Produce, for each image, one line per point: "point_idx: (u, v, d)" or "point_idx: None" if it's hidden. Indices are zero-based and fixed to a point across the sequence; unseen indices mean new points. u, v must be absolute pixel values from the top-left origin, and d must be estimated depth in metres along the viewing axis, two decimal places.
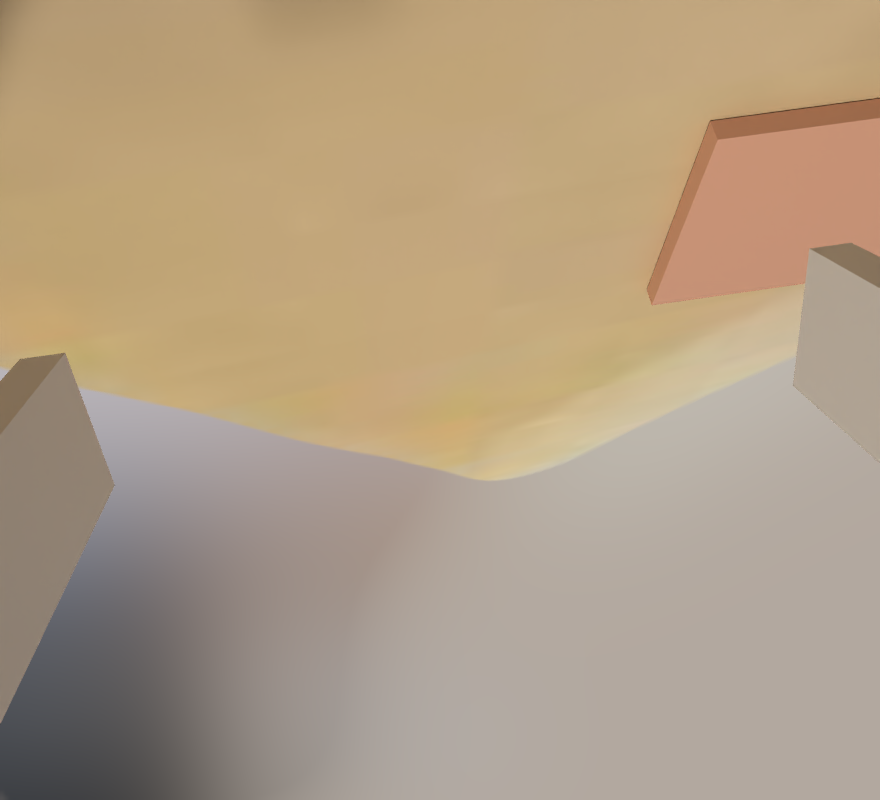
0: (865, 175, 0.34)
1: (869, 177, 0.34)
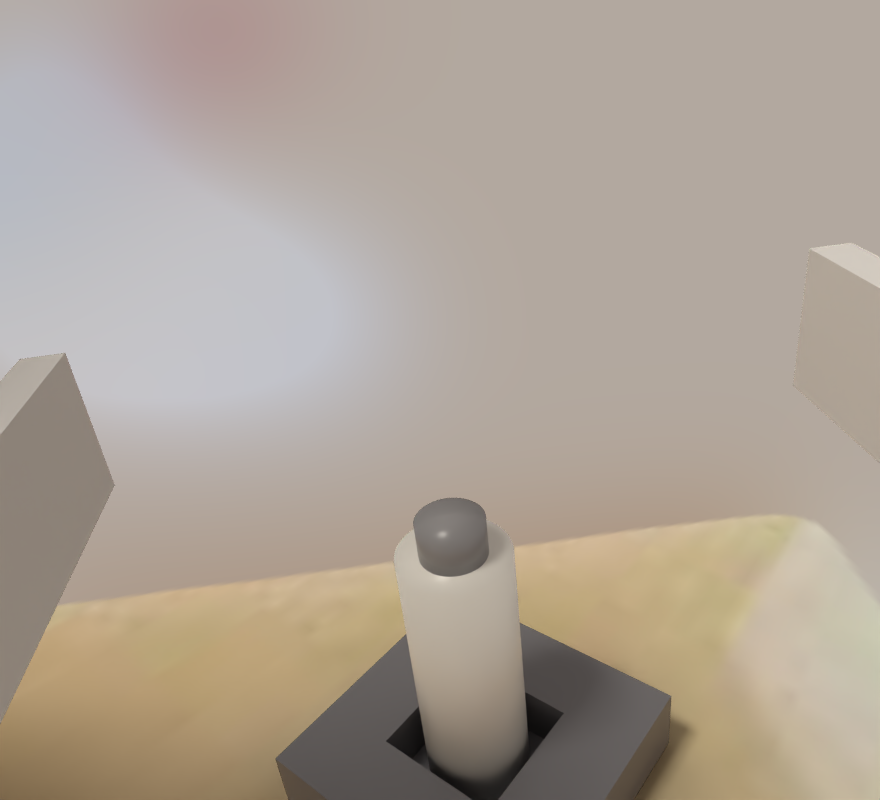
0: None
1: None
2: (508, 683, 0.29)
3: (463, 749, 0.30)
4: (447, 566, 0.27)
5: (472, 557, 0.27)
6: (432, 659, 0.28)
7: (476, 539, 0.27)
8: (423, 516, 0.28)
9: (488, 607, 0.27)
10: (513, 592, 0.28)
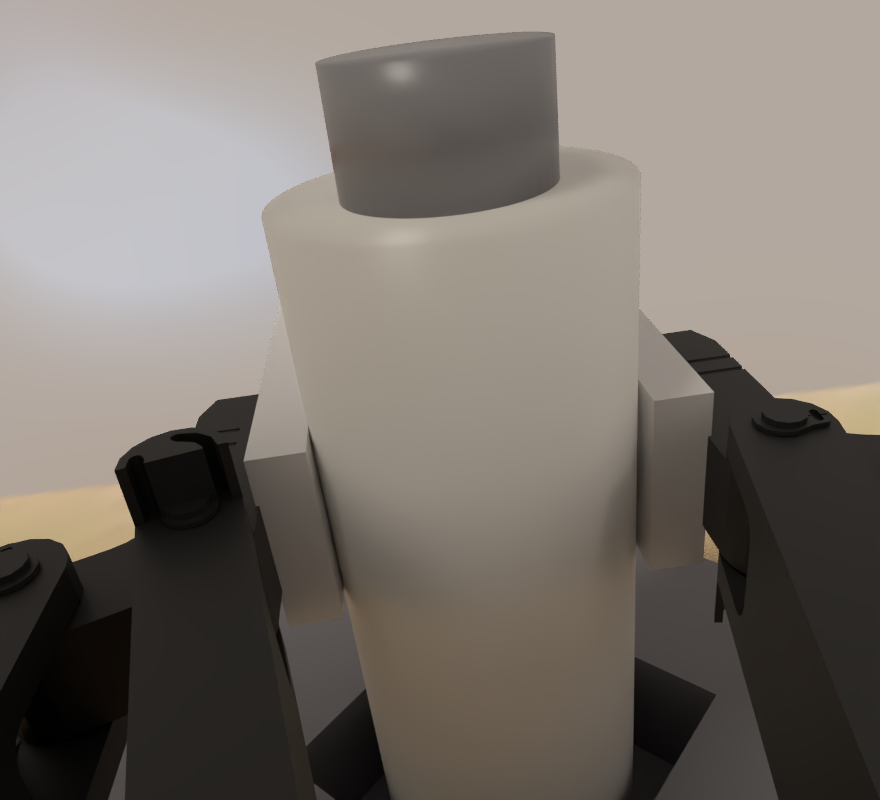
0: None
1: None
2: (608, 601, 0.10)
3: (479, 789, 0.11)
4: (426, 172, 0.08)
5: (512, 145, 0.08)
6: (385, 518, 0.09)
7: (526, 73, 0.08)
8: (351, 55, 0.09)
9: (568, 316, 0.08)
10: (636, 304, 0.09)
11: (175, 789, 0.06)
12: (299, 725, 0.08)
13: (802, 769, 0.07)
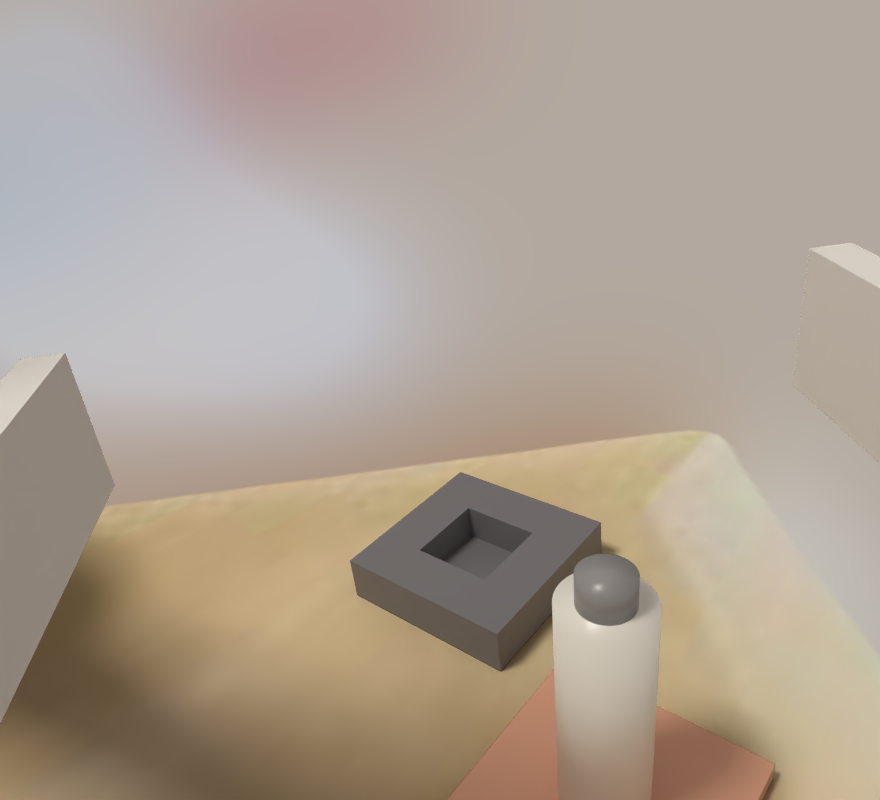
0: None
1: None
2: (649, 719, 0.33)
3: (605, 779, 0.34)
4: (607, 616, 0.31)
5: (629, 608, 0.31)
6: (587, 699, 0.32)
7: (634, 593, 0.30)
8: (581, 571, 0.31)
9: (643, 653, 0.31)
10: (659, 638, 0.32)
11: None
12: None
13: None
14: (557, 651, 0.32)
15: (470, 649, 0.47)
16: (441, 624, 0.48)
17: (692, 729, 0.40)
